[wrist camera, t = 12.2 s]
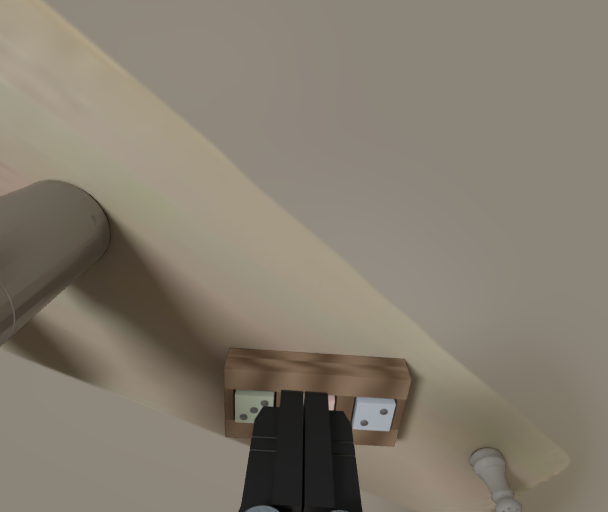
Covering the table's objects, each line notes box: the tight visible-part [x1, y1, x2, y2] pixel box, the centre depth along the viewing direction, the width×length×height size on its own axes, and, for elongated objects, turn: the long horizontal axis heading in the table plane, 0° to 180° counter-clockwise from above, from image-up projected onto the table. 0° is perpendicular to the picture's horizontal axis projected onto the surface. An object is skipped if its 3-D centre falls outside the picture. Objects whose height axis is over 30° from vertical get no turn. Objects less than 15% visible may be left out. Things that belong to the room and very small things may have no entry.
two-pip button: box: [351, 397, 396, 431], centre depth 46 cm, size 4×4×2 cm
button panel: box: [224, 348, 411, 447], centre depth 46 cm, size 21×11×4 cm, turn 86°
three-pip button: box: [235, 389, 275, 423], centre depth 45 cm, size 4×4×2 cm
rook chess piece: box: [470, 448, 522, 512], centre depth 50 cm, size 4×4×8 cm
